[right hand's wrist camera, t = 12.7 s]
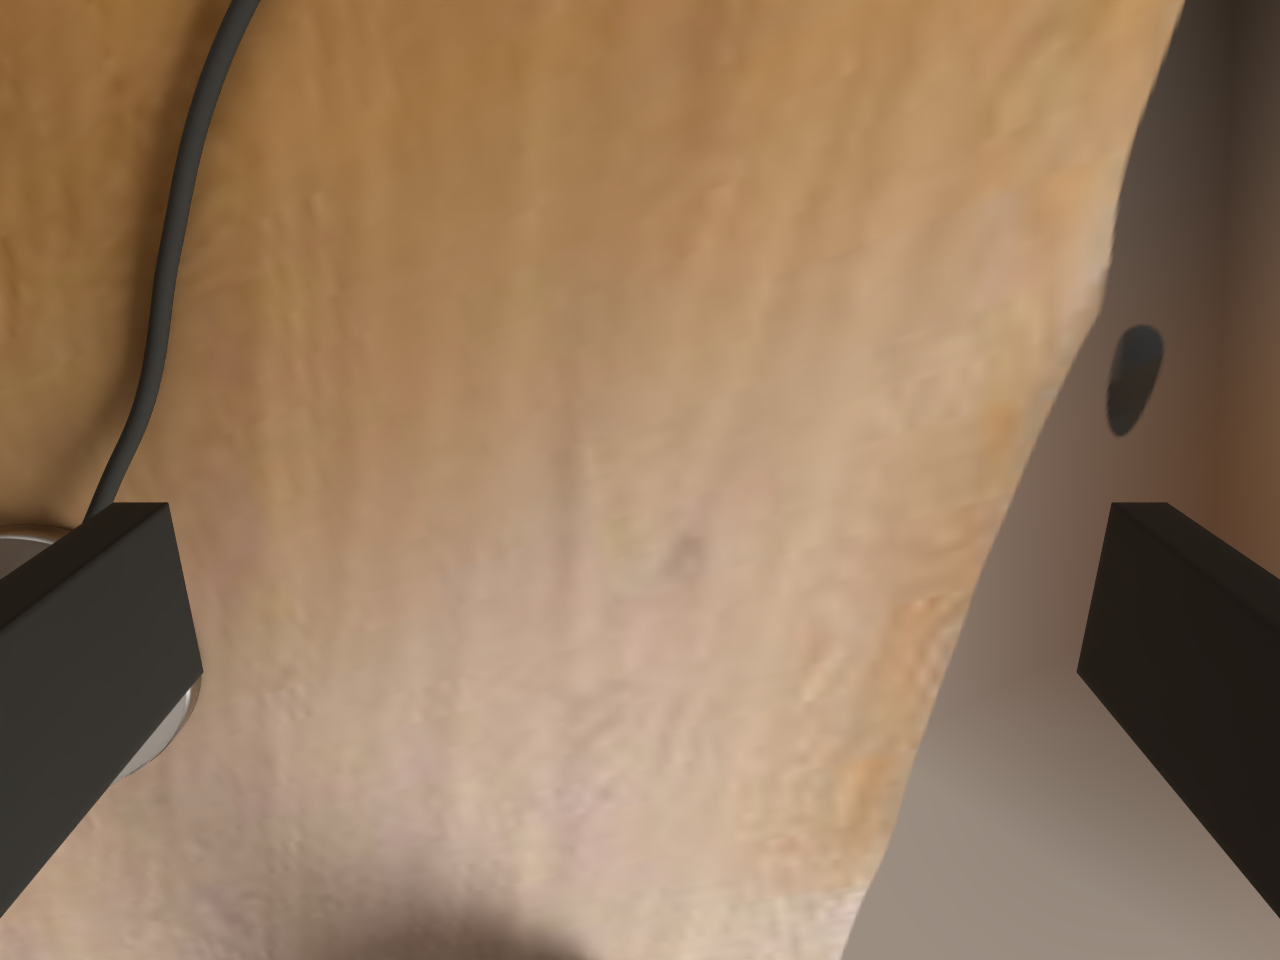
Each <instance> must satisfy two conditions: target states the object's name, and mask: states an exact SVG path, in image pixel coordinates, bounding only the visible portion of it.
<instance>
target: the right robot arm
mask: <svg viewBox="0 0 1280 960" xmlns="http://www.w3.org/2000/svg"><path fill="white" fill-rule="evenodd" d="M259 2H260V0H232V2H231V4H230V6H229V8H228V10H227V12H226V14H225V16H224V19H223V21H222V23H221V25H220V28H219V30H218V32H217V34H216V37H215V39H214V42H213V44H212V46H211V49H210V52H209V54H208V57H207V59H206V62H205V65H204V67H203V70H202V73H201V76H200V78H199V81H198V84H197V87H196V90H195V93H194V96H193V99H192V103H191V106H190V109H189V112H188V116H187V119H186V123H185V127H184V130H183V134H182V138H181V142H180V146H179V151H178V155H177V160H176V164H175V169H174V174H173V179H172V185H171V190H170V195H169V200H168V206H167V211H166V217H165V222H164V227H163V232H162V237H161V243H160V248H159V253H158V258H157V264H156V270H155V277H154V284H153V292H152V300H151V309H150V318H149V327H148V335H147V342H146V349H145V355H144V361H143V366H142V371H141V376H140V380H139V384H138V388H137V392H136V396H135V399H134V402H133V406H132V409H131V411H130V414H129V417H128V420H127V422H126V425H125V427H124V429H123V431H122V434H121V436H120V438H119V440H118V442H117V444H116V447H115V449H114V451H113V453H112V455H111V457H110V459H109V461H108V463H107V466H106V468H105V470H104V472H103V475H102V477H101V479H100V482H99V484H98V486H97V489H96V491H95V494H94V496H93V498H92V501H91V503H90V506H89V508H88V511H87V513H86V515H85V518H84V520H83V523H82V524H81V525H79V526H78V527H77V528H75V529H74V530H72V531H71V530H67V529H63V528H58V527H52V526H45V525H32V524H28V525H9V526H1V527H0V918H1V917H2V916H3V914H4V913H5V912H6V911H7V909H8V908H9V907H10V906H11V905H12V903H13V902H14V901H15V900H16V899H17V897H18V896H19V895H20V894H21V893H22V891H23V890H24V889H25V888H26V886H27V885H28V884H29V883H30V882H31V880H32V879H33V878H34V877H35V876H36V874H37V873H38V872H39V871H40V869H41V868H42V867H43V866H44V865H45V863H46V862H47V861H48V860H49V859H50V857H51V856H52V855H53V854H54V853H55V851H56V850H57V849H58V848H59V846H60V845H61V844H62V843H63V842H64V840H65V839H66V838H67V837H68V836H69V834H70V833H71V832H72V831H73V830H74V828H75V827H76V826H77V825H78V823H79V822H80V821H81V820H82V819H83V817H84V816H85V815H86V814H87V813H88V811H89V810H90V809H91V808H92V806H93V805H94V804H95V803H96V802H97V800H98V799H99V798H100V797H101V796H102V794H103V793H104V792H105V791H106V790H107V788H108V787H109V786H111V785H112V784H114V783H116V782H117V781H119V780H120V779H122V778H123V777H125V776H128V775H130V774H132V773H134V772H136V771H137V770H139V769H140V768H142V767H143V766H145V765H146V764H147V763H149V762H150V761H152V760H153V759H154V758H155V757H157V756H158V755H159V754H160V753H161V752H162V751H163V750H164V749H165V748H166V747H167V746H168V745H169V743H170V742H171V741H172V740H173V738H174V737H175V736H176V734H177V733H178V732H179V731H180V729H181V728H182V727H183V725H184V724H185V723H186V721H187V720H188V718H189V717H190V715H191V713H192V711H193V709H194V707H195V704H196V702H197V699H198V695H199V691H200V685H201V674H202V673H203V668H202V663H201V658H200V653H199V648H198V644H197V639H196V634H195V629H194V624H193V619H192V615H191V610H190V605H189V600H188V595H187V591H186V586H185V581H184V576H183V571H182V566H181V562H180V557H179V552H178V547H177V542H176V538H175V533H174V528H173V523H172V518H171V513H170V509H169V504H168V503H113V501H114V498H115V496H116V494H117V491H118V489H119V486H120V484H121V482H122V479H123V477H124V475H125V473H126V471H127V469H128V466H129V464H130V462H131V460H132V458H133V456H134V454H135V452H136V450H137V448H138V446H139V443H140V441H141V439H142V437H143V435H144V432H145V430H146V427H147V425H148V422H149V420H150V417H151V414H152V411H153V408H154V405H155V401H156V397H157V394H158V390H159V386H160V382H161V378H162V373H163V368H164V363H165V357H166V351H167V344H168V337H169V329H170V321H171V313H172V305H173V297H174V290H175V283H176V277H177V271H178V265H179V260H180V255H181V250H182V245H183V240H184V235H185V230H186V225H187V220H188V215H189V210H190V205H191V200H192V195H193V190H194V185H195V180H196V175H197V171H198V166H199V162H200V158H201V154H202V150H203V145H204V142H205V138H206V134H207V131H208V127H209V124H210V121H211V117H212V114H213V111H214V108H215V105H216V102H217V99H218V96H219V94H220V91H221V88H222V85H223V83H224V80H225V77H226V75H227V72H228V69H229V67H230V64H231V62H232V59H233V57H234V55H235V52H236V50H237V48H238V45H239V43H240V41H241V39H242V37H243V34H244V32H245V30H246V28H247V26H248V24H249V22H250V20H251V18H252V16H253V14H254V12H255V10H256V8H257V6H258V4H259ZM1077 673H1078V674H1079V676H1080V677H1081V678H1082V679H1083V681H1084V682H1085V683H1086V684H1087V685H1088V687H1089V688H1090V689H1091V690H1092V691H1093V693H1094V694H1095V695H1096V696H1097V697H1098V699H1099V700H1100V701H1101V702H1102V704H1103V705H1104V706H1105V707H1106V708H1107V710H1108V711H1109V712H1110V713H1111V714H1112V716H1113V717H1114V718H1115V719H1116V720H1117V722H1118V723H1119V724H1120V725H1121V727H1122V728H1123V729H1124V730H1125V731H1126V733H1127V734H1128V735H1129V736H1130V737H1131V739H1132V740H1133V741H1134V742H1135V744H1136V745H1137V746H1138V747H1139V748H1140V750H1141V751H1142V752H1143V753H1144V754H1145V756H1146V757H1147V758H1148V759H1149V760H1150V762H1151V763H1152V764H1153V765H1154V767H1155V768H1156V769H1157V770H1158V771H1159V772H1160V774H1161V775H1162V776H1163V777H1164V779H1165V780H1166V781H1167V782H1168V783H1169V785H1170V786H1171V787H1172V788H1173V790H1174V791H1175V792H1176V793H1177V794H1178V796H1179V797H1180V798H1181V799H1182V800H1183V802H1184V803H1185V804H1186V805H1187V807H1188V808H1189V809H1190V810H1191V811H1192V813H1193V814H1194V815H1195V816H1196V817H1197V819H1198V820H1199V821H1200V822H1201V823H1202V825H1203V826H1204V827H1205V828H1206V830H1207V831H1208V832H1209V833H1210V834H1211V836H1212V837H1213V838H1214V839H1215V840H1216V842H1217V843H1218V844H1219V845H1220V846H1221V848H1222V849H1223V850H1224V851H1225V853H1226V854H1227V855H1228V856H1229V857H1230V859H1231V860H1232V861H1233V862H1234V863H1235V865H1236V866H1237V867H1238V868H1239V869H1240V871H1241V872H1242V873H1243V874H1244V876H1245V877H1246V878H1247V879H1248V880H1249V882H1250V883H1251V884H1252V885H1253V886H1254V888H1255V889H1256V890H1257V891H1258V892H1259V894H1260V895H1261V896H1262V897H1263V899H1264V900H1265V901H1266V902H1267V903H1268V905H1269V906H1270V907H1271V908H1272V909H1273V911H1274V912H1275V913H1276V914H1277V915H1278V917H1279V918H1280V579H1278V578H1277V577H1275V576H1274V575H1272V574H1271V573H1269V572H1268V571H1267V570H1265V569H1264V568H1262V567H1261V566H1259V565H1258V564H1256V563H1255V562H1253V561H1252V560H1250V559H1249V558H1247V557H1246V556H1244V555H1243V554H1242V553H1240V552H1239V551H1237V550H1236V549H1234V548H1233V547H1231V546H1230V545H1228V544H1227V543H1225V542H1224V541H1223V540H1221V539H1220V538H1218V537H1217V536H1215V535H1214V534H1212V533H1211V532H1209V531H1208V530H1206V529H1205V528H1203V527H1202V526H1201V525H1199V524H1198V523H1196V522H1195V521H1193V520H1192V519H1190V518H1189V517H1187V516H1186V515H1184V514H1183V513H1181V512H1180V511H1179V510H1177V509H1175V508H1174V507H1173V506H1171V505H1170V504H1168V503H1112V504H1111V509H1110V513H1109V518H1108V523H1107V528H1106V533H1105V538H1104V542H1103V547H1102V552H1101V557H1100V562H1099V566H1098V571H1097V576H1096V581H1095V586H1094V591H1093V595H1092V600H1091V605H1090V610H1089V615H1088V620H1087V624H1086V629H1085V634H1084V639H1083V644H1082V649H1081V653H1080V658H1079V663H1078V668H1077Z"/></svg>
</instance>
